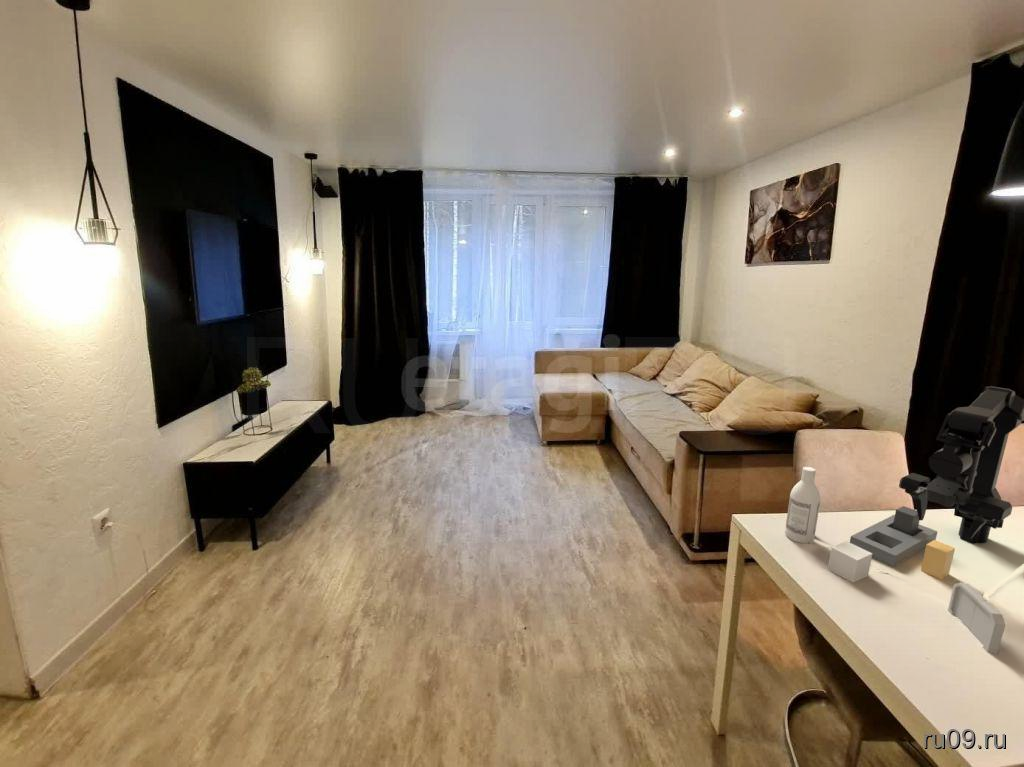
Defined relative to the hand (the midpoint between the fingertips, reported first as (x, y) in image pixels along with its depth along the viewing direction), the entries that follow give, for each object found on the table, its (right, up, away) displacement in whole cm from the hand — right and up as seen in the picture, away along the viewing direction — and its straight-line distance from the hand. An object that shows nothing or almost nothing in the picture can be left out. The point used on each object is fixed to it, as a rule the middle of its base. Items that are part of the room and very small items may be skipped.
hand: (944, 528), depth 115 cm
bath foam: (-22, -8, +20) cm, 31 cm away
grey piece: (-1, -9, +15) cm, 17 cm away
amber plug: (0, -12, +3) cm, 12 cm away
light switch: (-7, -17, -14) cm, 23 cm away
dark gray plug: (+4, -8, +17) cm, 19 cm away
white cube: (-19, -12, +5) cm, 23 cm away
